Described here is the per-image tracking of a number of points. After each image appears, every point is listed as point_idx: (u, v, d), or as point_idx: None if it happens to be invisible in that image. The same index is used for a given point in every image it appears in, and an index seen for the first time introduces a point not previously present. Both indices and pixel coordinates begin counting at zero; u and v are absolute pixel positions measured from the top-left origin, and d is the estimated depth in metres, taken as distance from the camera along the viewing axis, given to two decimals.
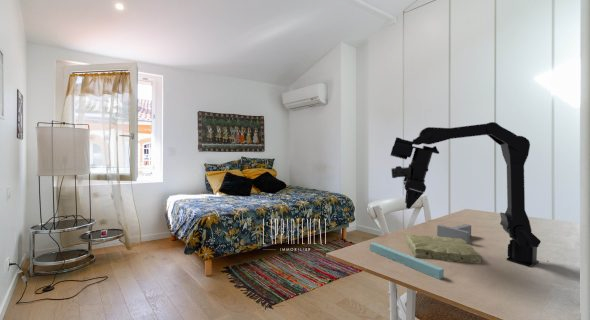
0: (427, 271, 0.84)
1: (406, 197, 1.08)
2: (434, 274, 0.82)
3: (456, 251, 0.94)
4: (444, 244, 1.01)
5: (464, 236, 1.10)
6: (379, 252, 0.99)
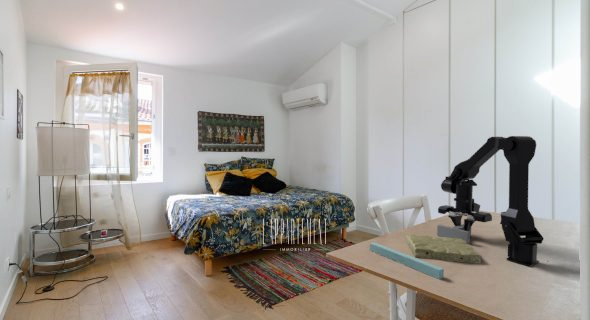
0: (427, 271, 0.84)
1: None
2: (434, 274, 0.82)
3: (456, 251, 0.94)
4: (444, 244, 1.01)
5: (464, 236, 1.10)
6: (379, 252, 0.99)
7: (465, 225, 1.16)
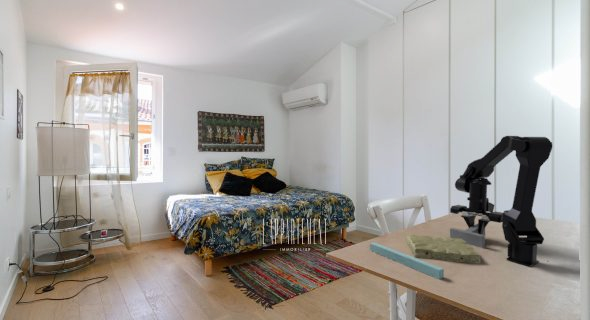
0: (427, 271, 0.84)
1: None
2: (434, 274, 0.82)
3: (456, 251, 0.94)
4: (444, 244, 1.01)
5: (479, 240, 1.06)
6: (379, 252, 0.99)
7: (479, 225, 1.12)
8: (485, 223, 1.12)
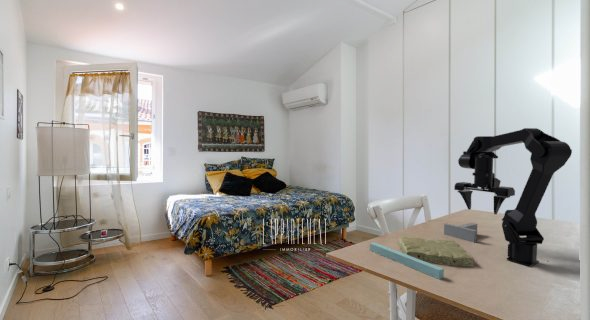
0: (427, 271, 0.84)
1: None
2: (434, 274, 0.82)
3: (448, 254, 0.92)
4: (436, 247, 0.99)
5: (471, 234, 1.13)
6: (379, 252, 0.99)
7: (495, 203, 1.04)
8: (501, 200, 1.05)
